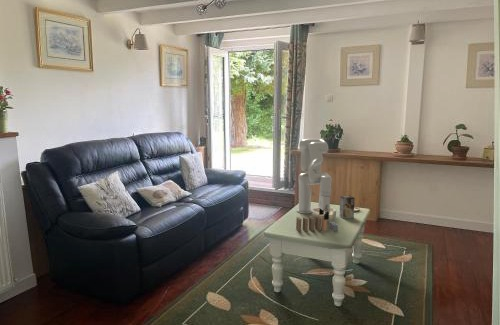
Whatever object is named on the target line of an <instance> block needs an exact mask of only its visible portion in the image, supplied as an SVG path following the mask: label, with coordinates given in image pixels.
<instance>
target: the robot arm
mask: <svg viewBox="0 0 500 325" xmlns="http://www.w3.org/2000/svg"><path fill="white" fill-rule="evenodd" d="M298 146H299V150H300V170H301V172H302V171H303V172H302V173H300V174H298V178H297V179H298V208H297V209H296V212H297V213H300V214H306V215H307V214H312V213H313V209H311V204H312V189H311V187H310V185H311V186H313V185H314V186H315V185H319V195H318V196H319V198H318V208H319V211H318V215H319V216H324V220H327V221H329V219H330V211H331V208H330V206H331V196H332V180H333V179H332V176H331V175H330V174H329V173H328V172H322V163H323V161H324V158H323V154H326V153H328V152H329V145H328V143H327V142H326V141H325V140H323V139H321V138H304V139H301V140H300V141H299V145H298Z"/></svg>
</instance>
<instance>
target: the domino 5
mask: <svg viewBox="0 0 500 325" xmlns="http://www.w3.org/2000/svg"><path fill="white" fill-rule="evenodd" d="M320 216H321V217H320V218H321V225H320V230H323V231H324V232H326V231H327V228H328V220H324V215H320Z"/></svg>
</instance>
